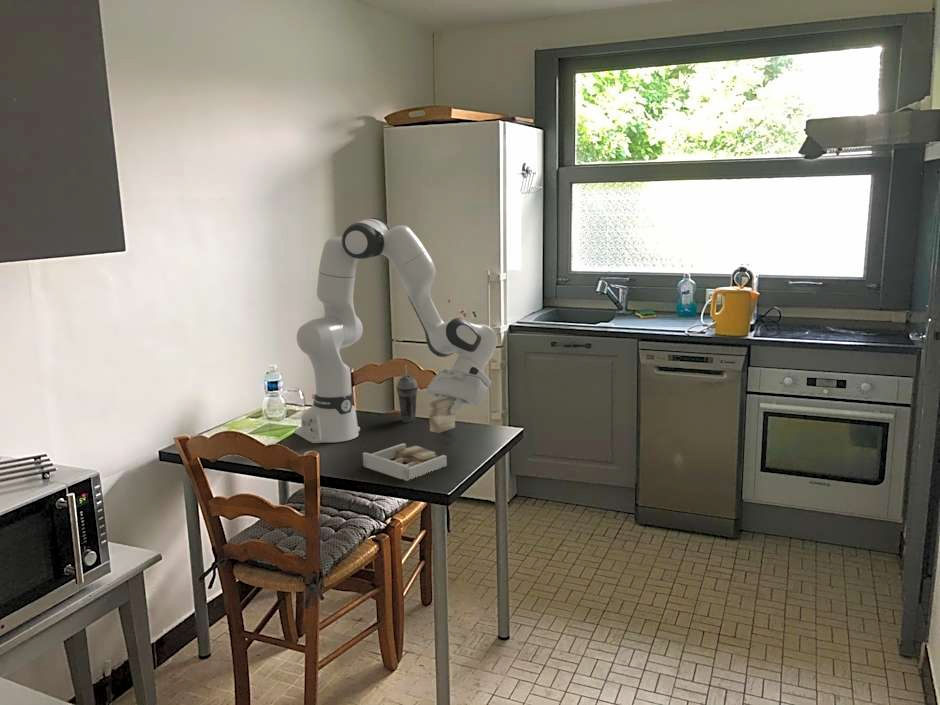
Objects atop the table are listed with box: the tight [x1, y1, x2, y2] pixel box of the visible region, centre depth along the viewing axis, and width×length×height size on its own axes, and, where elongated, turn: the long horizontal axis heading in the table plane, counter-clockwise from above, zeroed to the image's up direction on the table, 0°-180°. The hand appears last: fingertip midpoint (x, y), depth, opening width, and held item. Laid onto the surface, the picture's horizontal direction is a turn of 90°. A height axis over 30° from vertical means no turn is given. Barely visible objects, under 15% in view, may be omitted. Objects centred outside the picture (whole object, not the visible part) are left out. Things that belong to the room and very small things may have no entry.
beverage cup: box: [396, 363, 419, 423], centre depth 266 cm, size 7×7×20 cm
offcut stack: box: [394, 445, 438, 465], centre depth 226 cm, size 14×6×4 cm, turn 47°
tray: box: [362, 443, 448, 482], centre depth 222 cm, size 18×16×4 cm
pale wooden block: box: [428, 397, 456, 434], centre depth 231 cm, size 4×7×9 cm, turn 137°
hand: (444, 411), depth 231 cm, fingers closed on pale wooden block, 3 cm apart
